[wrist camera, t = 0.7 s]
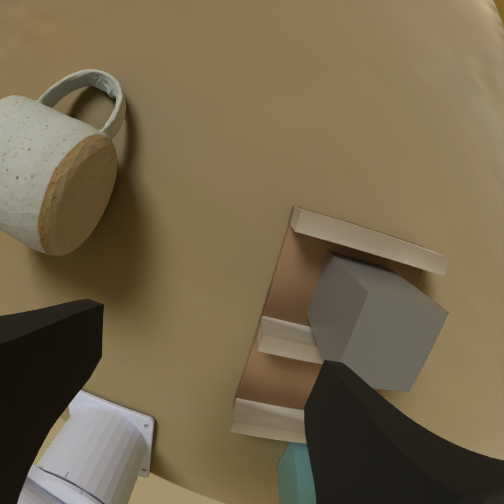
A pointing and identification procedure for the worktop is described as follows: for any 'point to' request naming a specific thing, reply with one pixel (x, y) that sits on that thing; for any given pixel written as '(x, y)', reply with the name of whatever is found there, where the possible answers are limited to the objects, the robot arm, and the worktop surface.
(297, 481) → the teal plug
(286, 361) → the brown tray
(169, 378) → the worktop surface
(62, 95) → the ceramic mug
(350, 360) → the grey plug
